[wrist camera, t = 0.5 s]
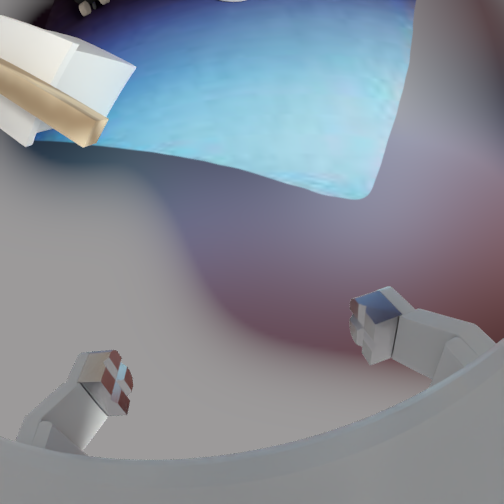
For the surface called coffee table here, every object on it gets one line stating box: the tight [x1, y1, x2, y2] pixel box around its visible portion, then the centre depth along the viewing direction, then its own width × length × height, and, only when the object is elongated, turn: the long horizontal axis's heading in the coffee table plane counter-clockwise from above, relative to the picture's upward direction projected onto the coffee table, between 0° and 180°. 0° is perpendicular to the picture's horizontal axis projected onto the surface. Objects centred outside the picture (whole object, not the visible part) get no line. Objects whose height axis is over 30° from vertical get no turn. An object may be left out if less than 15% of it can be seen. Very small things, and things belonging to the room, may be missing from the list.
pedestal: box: [0, 15, 136, 147], centre depth 29 cm, size 14×20×26 cm
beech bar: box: [0, 58, 108, 147], centre depth 19 cm, size 3×26×3 cm, turn 53°
